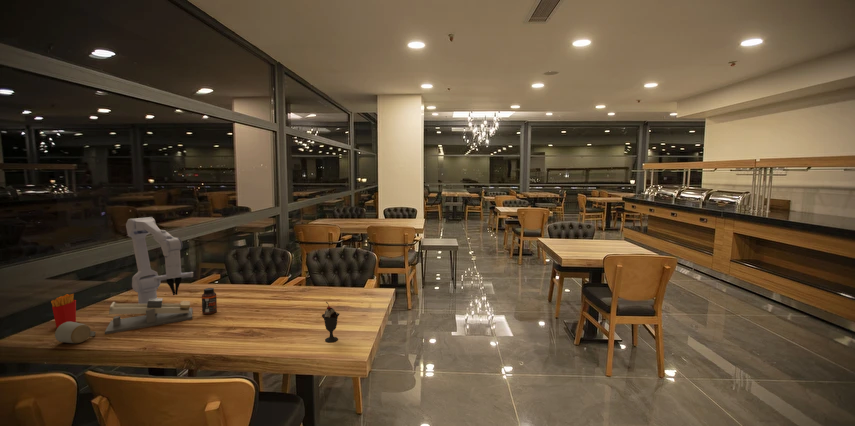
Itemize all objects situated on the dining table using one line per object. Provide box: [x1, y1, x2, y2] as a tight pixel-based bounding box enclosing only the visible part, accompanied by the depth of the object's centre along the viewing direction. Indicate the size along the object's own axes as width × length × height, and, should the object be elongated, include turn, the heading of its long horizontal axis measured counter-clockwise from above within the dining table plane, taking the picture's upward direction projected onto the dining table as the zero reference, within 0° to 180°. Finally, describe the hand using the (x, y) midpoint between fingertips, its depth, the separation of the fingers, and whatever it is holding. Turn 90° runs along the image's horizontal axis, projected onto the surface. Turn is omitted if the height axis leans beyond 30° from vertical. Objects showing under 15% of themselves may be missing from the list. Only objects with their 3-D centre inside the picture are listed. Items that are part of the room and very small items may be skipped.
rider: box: [147, 297, 164, 308], centre depth 164 cm, size 4×5×4 cm
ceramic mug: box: [54, 321, 96, 344], centre depth 145 cm, size 11×8×8 cm
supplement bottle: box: [201, 287, 218, 315], centre depth 174 cm, size 6×6×11 cm
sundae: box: [321, 301, 340, 343], centre depth 144 cm, size 7×7×15 cm
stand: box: [104, 307, 193, 335], centre depth 164 cm, size 14×30×6 cm, turn 122°
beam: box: [108, 300, 191, 315], centre depth 164 cm, size 7×28×4 cm, turn 122°
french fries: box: [50, 293, 77, 329], centre depth 159 cm, size 9×4×13 cm, turn 2°
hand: (175, 294), depth 168 cm, fingers closed
